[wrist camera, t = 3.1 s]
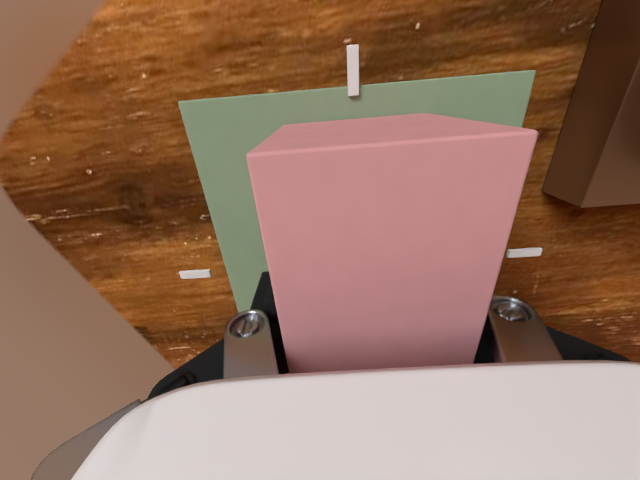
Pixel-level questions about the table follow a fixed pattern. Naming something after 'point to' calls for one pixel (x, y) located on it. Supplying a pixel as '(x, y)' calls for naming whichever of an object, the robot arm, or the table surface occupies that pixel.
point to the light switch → (603, 117)
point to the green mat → (315, 106)
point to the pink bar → (386, 235)
